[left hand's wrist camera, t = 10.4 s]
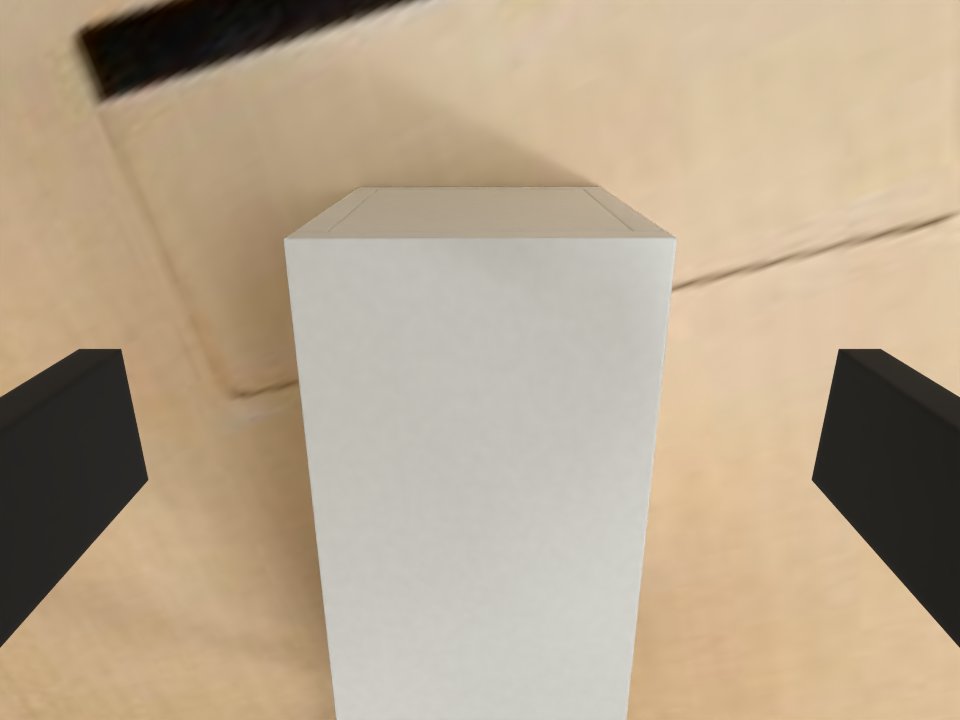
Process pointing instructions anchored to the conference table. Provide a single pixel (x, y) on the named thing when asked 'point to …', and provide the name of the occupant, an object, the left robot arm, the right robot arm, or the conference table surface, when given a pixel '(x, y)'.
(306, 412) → the cabinet
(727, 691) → the conference table surface
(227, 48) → the conference table surface
